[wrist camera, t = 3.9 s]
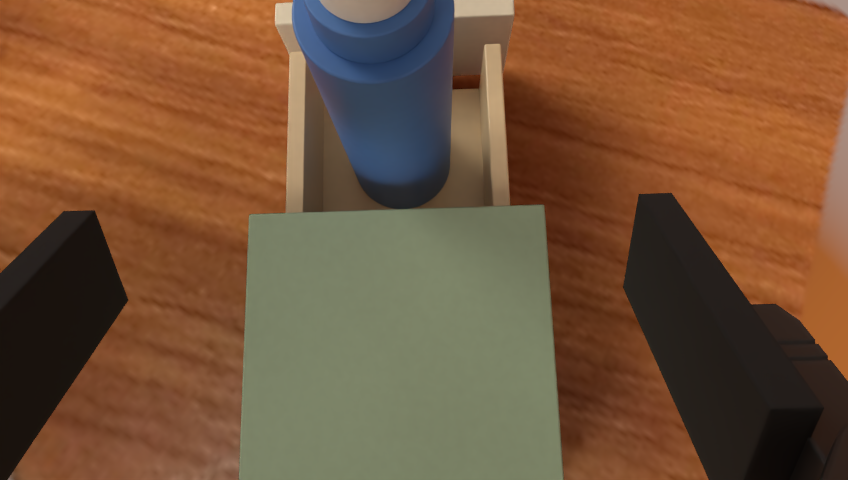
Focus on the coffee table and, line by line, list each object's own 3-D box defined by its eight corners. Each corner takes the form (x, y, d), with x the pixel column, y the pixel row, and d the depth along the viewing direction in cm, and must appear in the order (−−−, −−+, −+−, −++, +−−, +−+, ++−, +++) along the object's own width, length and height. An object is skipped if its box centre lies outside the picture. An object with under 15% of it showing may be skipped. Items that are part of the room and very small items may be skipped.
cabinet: (291, 249, 34) (248, 213, 26) (522, 242, 33) (544, 203, 26) (285, 516, 31) (234, 560, 23) (538, 511, 30) (569, 554, 23)
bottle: (337, 155, 32) (225, -76, 16) (412, 102, 33) (381, -175, 16) (392, 228, 32) (334, 63, 15) (469, 172, 32) (496, -47, 15)
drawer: (302, 44, 35) (275, -20, 30) (500, 36, 35) (512, -30, 29) (298, 279, 32) (267, 258, 27) (514, 272, 32) (530, 250, 26)
